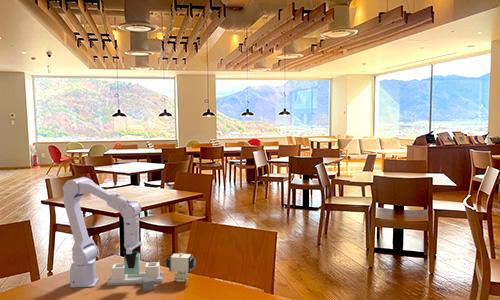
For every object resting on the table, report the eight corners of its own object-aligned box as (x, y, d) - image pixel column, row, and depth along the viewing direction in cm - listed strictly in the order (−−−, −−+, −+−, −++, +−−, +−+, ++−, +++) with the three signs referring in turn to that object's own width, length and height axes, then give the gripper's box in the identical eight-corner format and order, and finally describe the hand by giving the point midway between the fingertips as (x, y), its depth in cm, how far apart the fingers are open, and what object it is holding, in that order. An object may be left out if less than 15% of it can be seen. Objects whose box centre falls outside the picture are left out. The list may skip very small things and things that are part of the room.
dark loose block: (143, 291, 159) (143, 282, 158) (142, 287, 162) (142, 278, 162) (154, 290, 160) (153, 280, 160) (152, 286, 164) (152, 276, 163)
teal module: (124, 274, 158) (124, 256, 158) (126, 270, 163) (126, 252, 162) (138, 273, 159) (138, 256, 158) (140, 269, 163) (140, 252, 163)
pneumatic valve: (193, 283, 166) (193, 255, 165) (166, 282, 168) (165, 254, 167) (196, 278, 172) (196, 251, 171) (170, 276, 173) (169, 250, 172)
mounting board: (107, 285, 163) (106, 269, 163) (112, 276, 173) (111, 261, 173) (161, 283, 166) (161, 267, 166) (163, 274, 176) (163, 259, 176)
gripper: (139, 237, 153) (139, 272, 154) (144, 227, 167) (144, 258, 168) (120, 238, 152) (121, 272, 153) (127, 227, 166) (127, 259, 167)
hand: (132, 265), depth 161 cm, fingers closed on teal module, 4 cm apart
